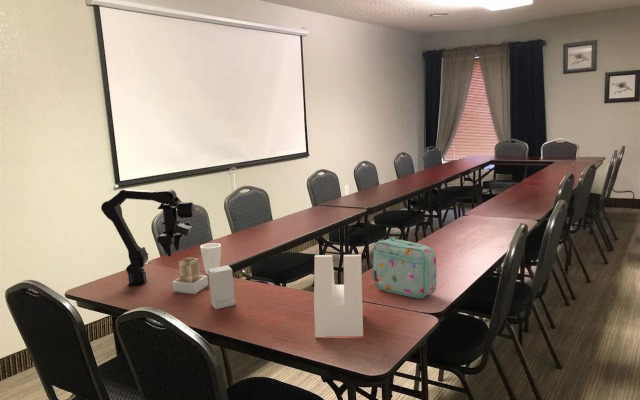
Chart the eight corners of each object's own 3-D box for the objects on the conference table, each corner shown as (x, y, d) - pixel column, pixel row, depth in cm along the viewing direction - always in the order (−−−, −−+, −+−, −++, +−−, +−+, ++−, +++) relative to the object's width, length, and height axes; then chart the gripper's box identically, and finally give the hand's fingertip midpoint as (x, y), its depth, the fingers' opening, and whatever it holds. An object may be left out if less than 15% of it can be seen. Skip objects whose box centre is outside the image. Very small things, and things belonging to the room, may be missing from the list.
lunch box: (367, 288, 208) (366, 237, 204) (382, 281, 215) (382, 232, 211) (424, 303, 190) (424, 248, 186) (438, 295, 197) (439, 242, 193)
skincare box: (231, 300, 200) (228, 264, 197) (235, 305, 195) (233, 268, 192) (210, 304, 196) (207, 268, 194) (214, 310, 191) (211, 272, 188)
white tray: (173, 291, 212) (172, 281, 211) (187, 283, 222) (186, 273, 221) (194, 294, 209) (193, 283, 208) (208, 285, 218) (207, 275, 217)
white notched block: (363, 339, 163) (361, 264, 158) (315, 339, 164) (312, 264, 159) (362, 315, 182) (360, 247, 177) (319, 315, 183) (317, 248, 178)
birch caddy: (181, 289, 213) (178, 261, 211) (189, 284, 219) (187, 257, 217) (192, 290, 211) (189, 262, 209) (200, 285, 217) (198, 258, 215)
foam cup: (218, 276, 231) (215, 248, 228) (199, 275, 232) (196, 248, 230) (225, 269, 240) (223, 243, 237) (207, 269, 242) (205, 242, 239)
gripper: (180, 223, 211) (184, 259, 213) (195, 213, 229) (198, 247, 232) (155, 223, 212) (158, 259, 214) (171, 214, 230) (174, 247, 233)
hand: (173, 253), depth 223 cm, fingers open, 9 cm apart
